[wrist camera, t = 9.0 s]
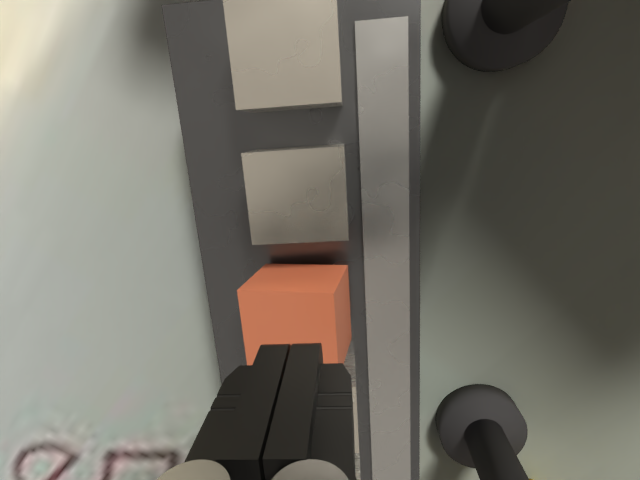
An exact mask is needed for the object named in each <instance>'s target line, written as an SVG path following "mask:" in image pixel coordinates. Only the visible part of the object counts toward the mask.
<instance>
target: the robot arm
mask: <svg viewBox="0 0 640 480" xmlns="http://www.w3.org/2000/svg"><path fill="white" fill-rule="evenodd" d="M156 480H357V479H356V476H355V442H354V417H353V398H352V379H351V375H350V374H349V372H348V371H347V369H346V368H345V366H344V365H343V363H328V364H323V352H322V345H321V343H296V344H292V345H291V344H262V345H261V346H260V347H259V350H258V352H257V355H256V357H255V360H254V362H253V365H241V366H238V367H237V368H236V369H235V370H234V371H233V372H232V373H231V374H230V375H228V376H227V377H226V378H225V379H224V381H223V383H222V386H221V388H220V390H219V392H218V394H217V398H215V400H214V402H213V404H212V406H211V411H209V412H208V414H207V417H206V419H205V421H204V423H203V425H202V427H201V429H200V431H199V433H198V435H197V437H196V439H195V441H194V443H193V445H192V448H191V450H190V452H189V454H188V456H187V458H186V460H185V462H184V463H182V464H179V465H177V466H175V467H173V468H171V469H169V470H168V471H167V472H165V473H164V474H162V475H161V476H160V477H159V478H158V479H156Z"/></svg>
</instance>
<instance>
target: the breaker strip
mask: <svg viewBox="0 0 640 480" xmlns="http://www.w3.org/2000/svg"><path fill="white" fill-rule="evenodd" d="M162 10H163V16H164V23H165V29H166V35H167V42H168V48H169V54H170V61H171V67H172V73H173V80H174V86H175V92H176V98H177V105H178V111H179V117H180V124H181V130H182V136H183V143H184V149H185V155H186V162H187V168H188V174H189V180H190V187H191V193H192V199H193V206H194V212H195V218H196V225H197V231H198V237H199V244H200V250H201V256H202V262H203V269H204V275H205V281H206V288H207V294H208V300H209V307H210V313H211V319H212V326H213V332H214V338H215V344H216V351H217V357H218V363H219V370H220V376H221V382H222V383H223V381H224V379H225V378H226V377H227V376H228V375H230V374H231V373H232V372H233V371H234V370H235V369H236V368H237V367H238V366H241V365H247V361H246V353H245V346H244V339H243V331H242V324H241V317H240V309H239V302H238V295H237V290H238V289H239V288H240V287H241V286H242V285H243V284H244V283H245V282H246V281H247V280H249V279H250V278H251V277H252V276H253V275H254V274H255V273H256V272H257V271H258V270H259V269H261V268H262V267H263V266H264V265H265V264H317V265H348V276H349V296H350V316H351V335H352V338H351V342H350V345H349V348H348V351H347V355H346V358H345V361H344V364H343V365H344V366H345V368H346V369H347V371H348V372H349V374H350V375H351V379H352V398H353V417H354V442H355V476H356V479H357V480H419V405H420V13H421V0H207V1H197V2H187V3H177V4H167V5H162Z"/></svg>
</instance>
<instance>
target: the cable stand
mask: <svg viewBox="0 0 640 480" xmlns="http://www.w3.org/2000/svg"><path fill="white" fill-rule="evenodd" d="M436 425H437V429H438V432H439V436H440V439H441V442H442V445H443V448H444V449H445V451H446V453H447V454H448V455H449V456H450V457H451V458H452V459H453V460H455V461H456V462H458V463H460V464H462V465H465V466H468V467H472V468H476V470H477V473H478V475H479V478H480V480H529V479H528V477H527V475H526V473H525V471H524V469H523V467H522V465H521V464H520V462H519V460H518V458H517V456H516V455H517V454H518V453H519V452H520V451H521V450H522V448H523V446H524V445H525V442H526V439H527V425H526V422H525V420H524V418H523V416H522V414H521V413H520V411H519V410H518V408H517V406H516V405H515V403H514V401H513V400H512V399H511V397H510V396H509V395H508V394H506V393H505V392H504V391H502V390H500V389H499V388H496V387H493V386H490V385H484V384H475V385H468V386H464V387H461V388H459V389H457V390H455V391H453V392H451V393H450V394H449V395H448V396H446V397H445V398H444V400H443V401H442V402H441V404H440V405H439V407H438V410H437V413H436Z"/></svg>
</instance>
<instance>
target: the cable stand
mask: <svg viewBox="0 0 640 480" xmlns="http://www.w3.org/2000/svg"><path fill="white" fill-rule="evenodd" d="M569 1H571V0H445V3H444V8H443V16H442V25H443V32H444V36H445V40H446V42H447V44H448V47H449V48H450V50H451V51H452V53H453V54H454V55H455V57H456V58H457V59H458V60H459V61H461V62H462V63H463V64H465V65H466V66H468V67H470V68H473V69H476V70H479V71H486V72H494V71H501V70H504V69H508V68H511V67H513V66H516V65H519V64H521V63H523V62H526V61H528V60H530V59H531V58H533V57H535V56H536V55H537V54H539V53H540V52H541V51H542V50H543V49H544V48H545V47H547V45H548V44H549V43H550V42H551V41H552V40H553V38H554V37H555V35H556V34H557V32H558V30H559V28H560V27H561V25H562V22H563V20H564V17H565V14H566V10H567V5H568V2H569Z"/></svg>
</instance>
